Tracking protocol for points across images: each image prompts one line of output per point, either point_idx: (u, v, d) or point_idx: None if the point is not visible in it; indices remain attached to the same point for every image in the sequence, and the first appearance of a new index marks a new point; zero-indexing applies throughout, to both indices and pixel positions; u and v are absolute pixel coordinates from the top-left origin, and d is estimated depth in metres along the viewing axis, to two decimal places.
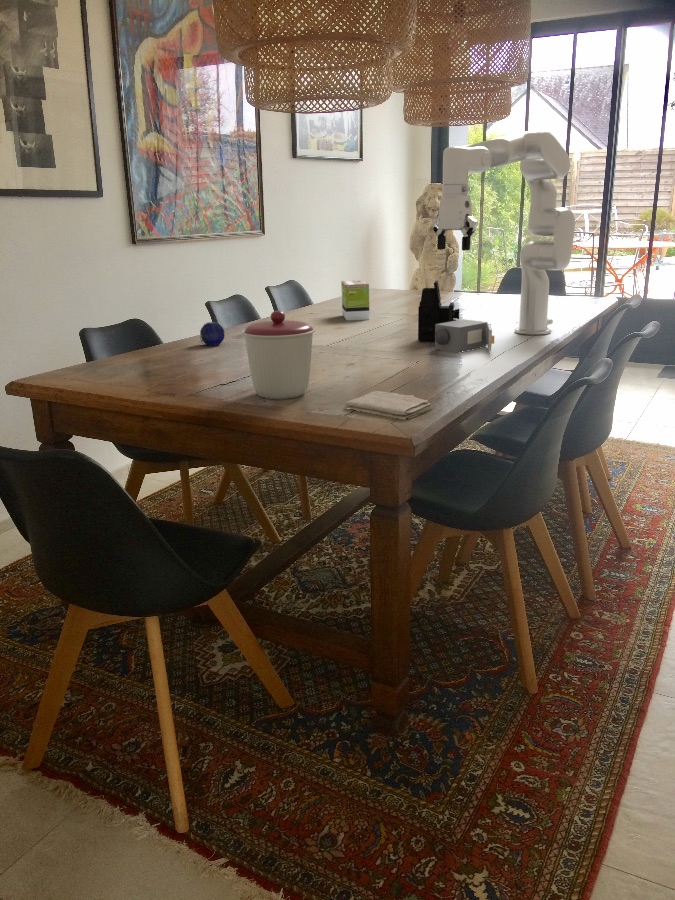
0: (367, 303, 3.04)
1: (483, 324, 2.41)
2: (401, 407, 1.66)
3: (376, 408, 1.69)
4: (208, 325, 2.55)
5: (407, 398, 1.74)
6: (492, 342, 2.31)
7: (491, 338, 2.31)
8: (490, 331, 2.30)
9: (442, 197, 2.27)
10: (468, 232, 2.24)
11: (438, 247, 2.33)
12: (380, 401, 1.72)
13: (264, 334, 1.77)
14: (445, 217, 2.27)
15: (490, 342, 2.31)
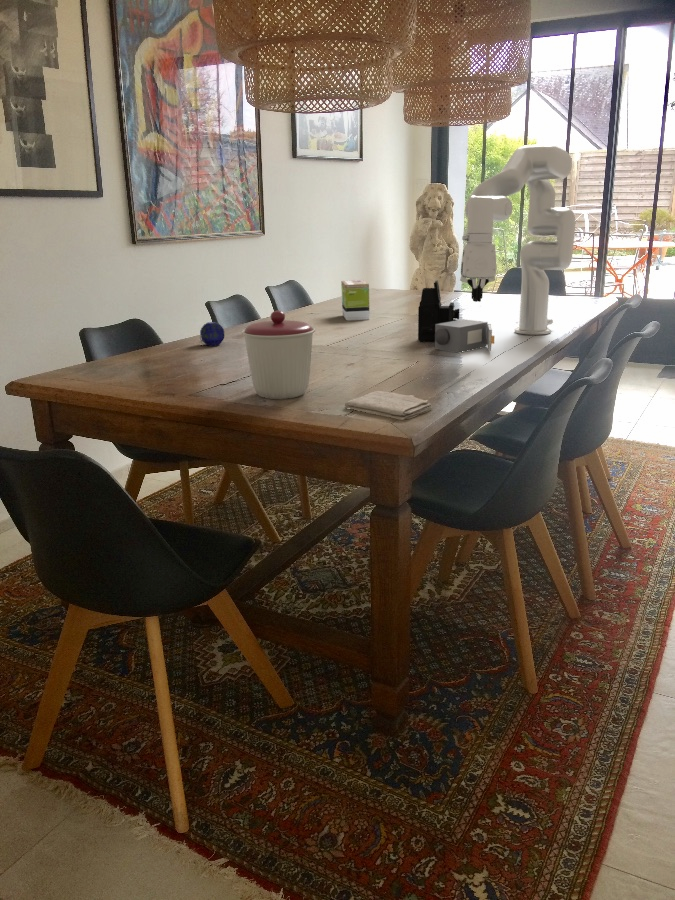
0: (367, 303, 3.04)
1: (483, 324, 2.41)
2: (400, 408, 1.66)
3: (375, 408, 1.69)
4: (208, 325, 2.55)
5: (407, 398, 1.73)
6: (492, 342, 2.31)
7: (491, 338, 2.31)
8: (490, 331, 2.30)
9: None
10: None
11: None
12: (380, 401, 1.72)
13: (264, 334, 1.77)
14: None
15: (490, 342, 2.31)
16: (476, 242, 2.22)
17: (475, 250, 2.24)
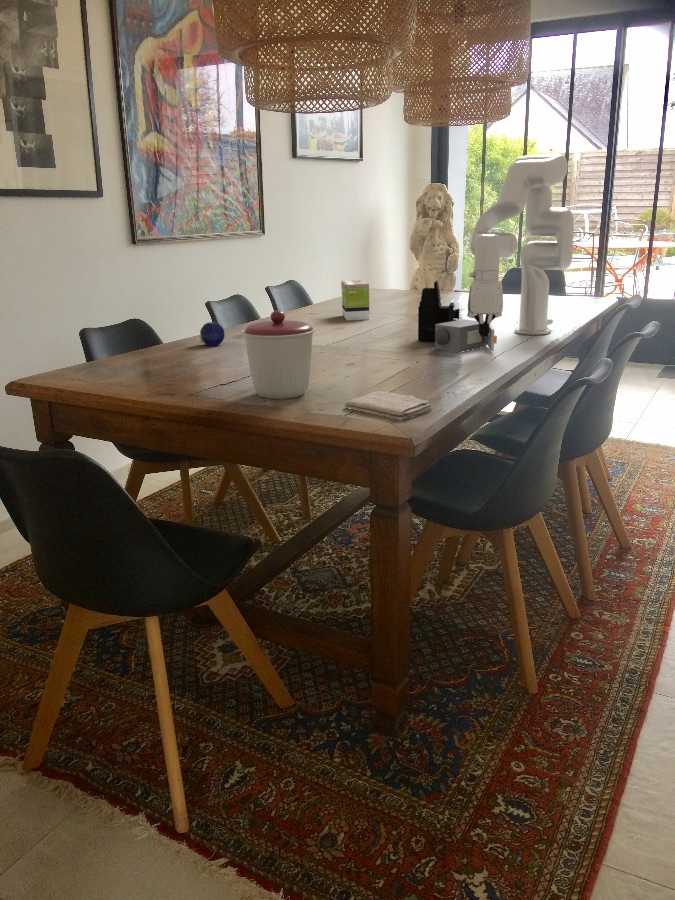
0: (367, 303, 3.04)
1: None
2: (399, 408, 1.66)
3: (374, 408, 1.69)
4: (208, 325, 2.55)
5: (407, 398, 1.73)
6: (494, 342, 2.31)
7: (493, 338, 2.31)
8: (492, 331, 2.30)
9: None
10: None
11: None
12: (379, 401, 1.72)
13: (264, 334, 1.77)
14: None
15: (492, 342, 2.31)
16: (483, 279, 2.26)
17: (482, 287, 2.27)
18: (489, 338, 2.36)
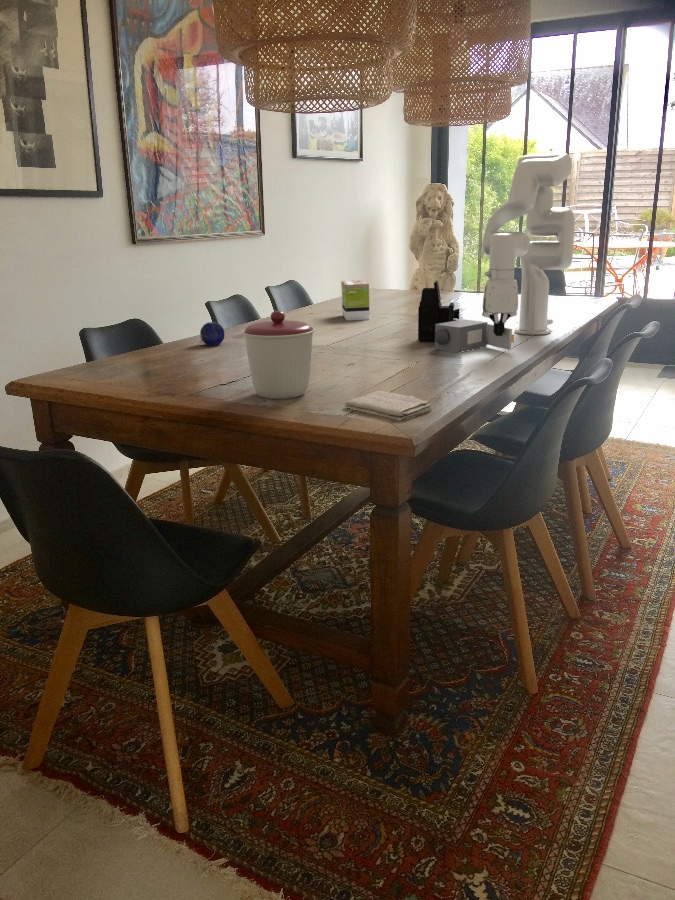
0: (367, 303, 3.04)
1: (483, 324, 2.41)
2: (398, 408, 1.66)
3: (374, 408, 1.69)
4: (208, 325, 2.55)
5: (407, 399, 1.73)
6: (512, 341, 2.33)
7: (511, 337, 2.32)
8: (511, 330, 2.31)
9: None
10: None
11: None
12: (379, 401, 1.72)
13: (264, 334, 1.77)
14: None
15: (510, 341, 2.32)
16: (498, 278, 2.25)
17: (498, 286, 2.26)
18: (499, 338, 2.37)
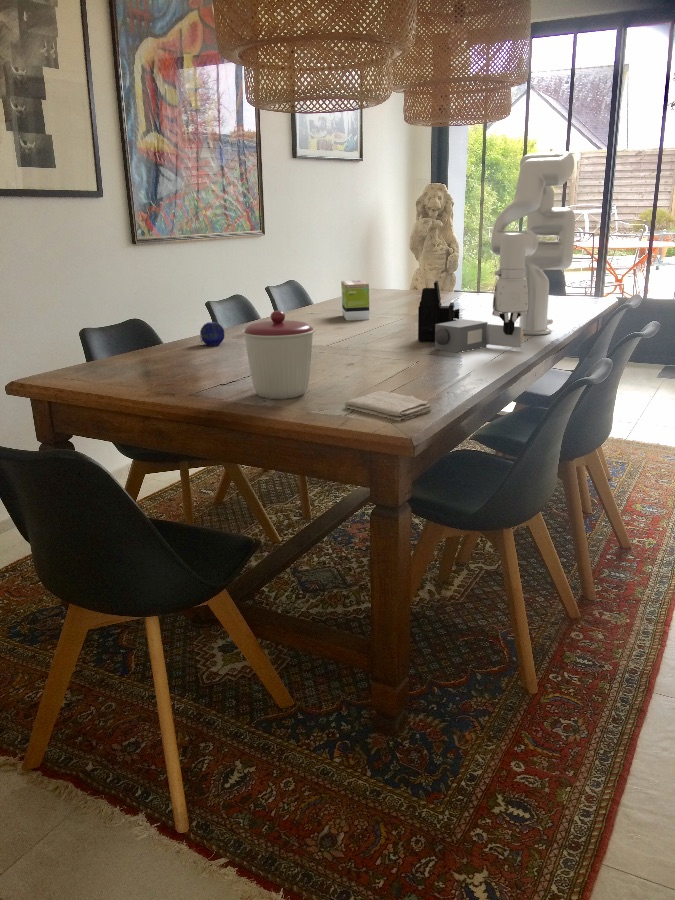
0: (367, 303, 3.04)
1: (483, 324, 2.41)
2: (397, 408, 1.66)
3: (373, 408, 1.69)
4: (208, 325, 2.55)
5: (407, 399, 1.73)
6: (522, 339, 2.36)
7: (522, 335, 2.35)
8: (521, 328, 2.34)
9: None
10: None
11: None
12: (379, 401, 1.72)
13: (264, 334, 1.77)
14: None
15: (521, 339, 2.35)
16: (509, 278, 2.26)
17: (508, 285, 2.27)
18: (505, 337, 2.38)
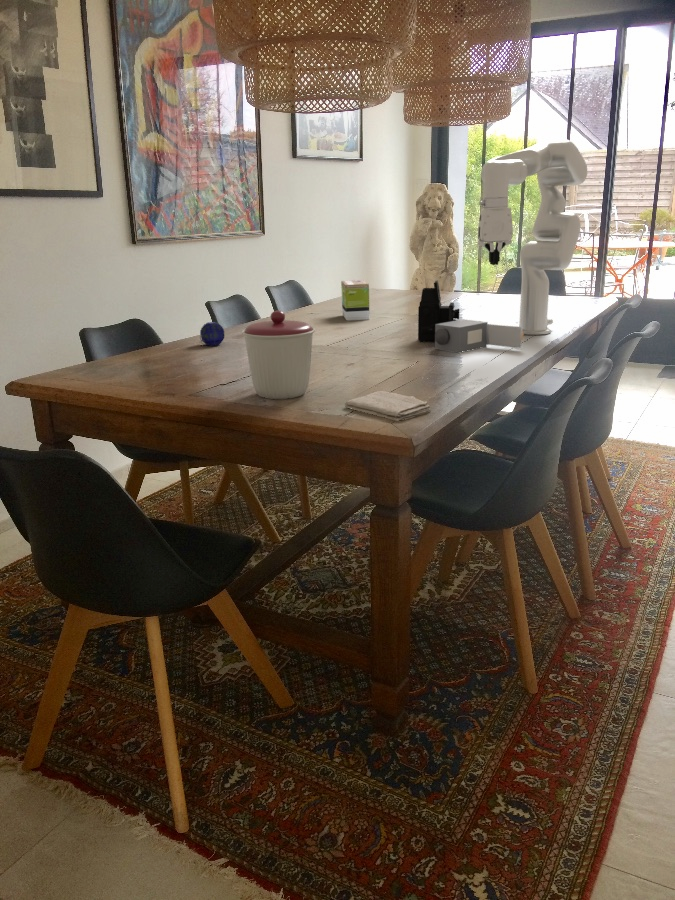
0: (367, 303, 3.04)
1: (483, 324, 2.41)
2: (396, 409, 1.66)
3: (372, 408, 1.69)
4: (208, 325, 2.55)
5: (407, 399, 1.73)
6: (522, 339, 2.36)
7: (522, 335, 2.35)
8: (521, 328, 2.34)
9: None
10: None
11: None
12: (379, 401, 1.72)
13: (264, 334, 1.77)
14: None
15: (521, 339, 2.35)
16: (493, 206, 2.29)
17: (492, 214, 2.30)
18: (505, 337, 2.38)
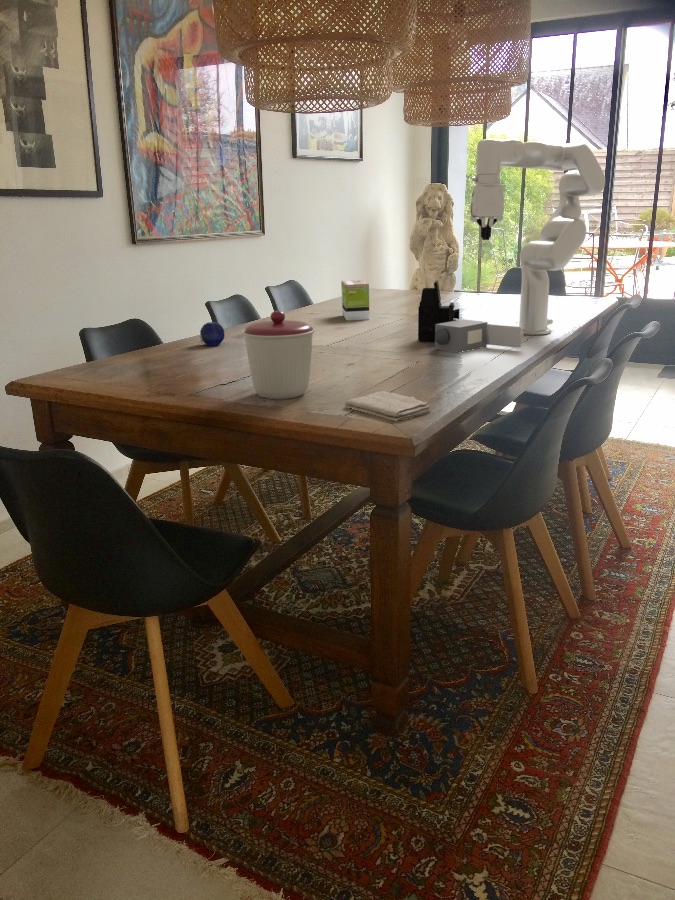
0: (367, 303, 3.04)
1: (483, 324, 2.41)
2: (395, 409, 1.66)
3: (372, 408, 1.69)
4: (208, 325, 2.55)
5: (407, 399, 1.72)
6: (522, 339, 2.36)
7: (522, 335, 2.35)
8: (521, 328, 2.34)
9: None
10: None
11: None
12: (378, 401, 1.72)
13: (264, 334, 1.77)
14: None
15: (521, 339, 2.35)
16: (485, 182, 2.37)
17: (484, 190, 2.38)
18: (505, 337, 2.38)
